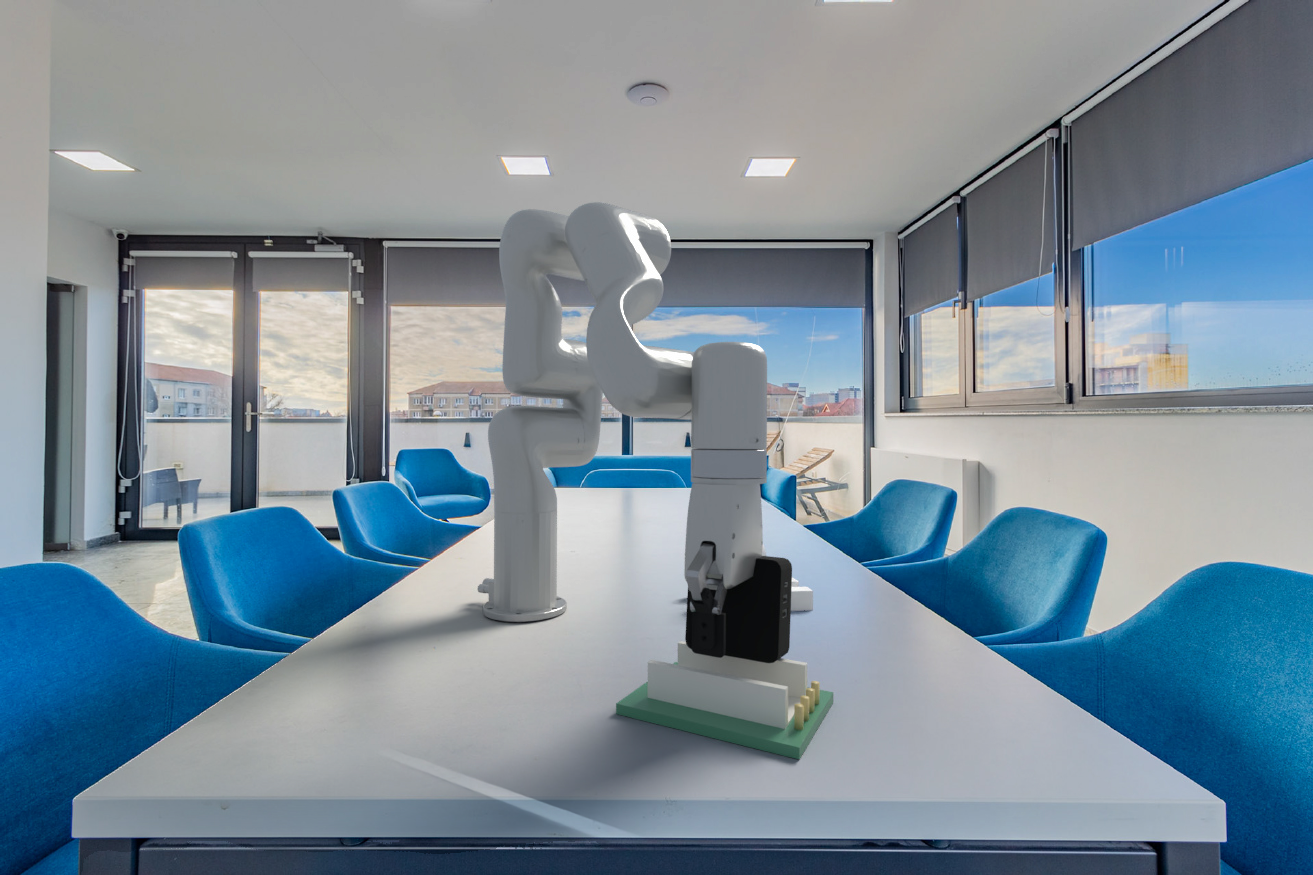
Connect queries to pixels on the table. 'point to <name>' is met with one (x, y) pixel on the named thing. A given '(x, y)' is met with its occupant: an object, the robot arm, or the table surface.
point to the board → (732, 700)
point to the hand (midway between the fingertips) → (727, 639)
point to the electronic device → (757, 613)
